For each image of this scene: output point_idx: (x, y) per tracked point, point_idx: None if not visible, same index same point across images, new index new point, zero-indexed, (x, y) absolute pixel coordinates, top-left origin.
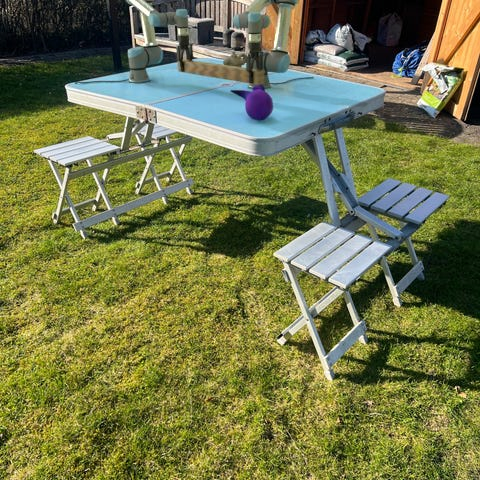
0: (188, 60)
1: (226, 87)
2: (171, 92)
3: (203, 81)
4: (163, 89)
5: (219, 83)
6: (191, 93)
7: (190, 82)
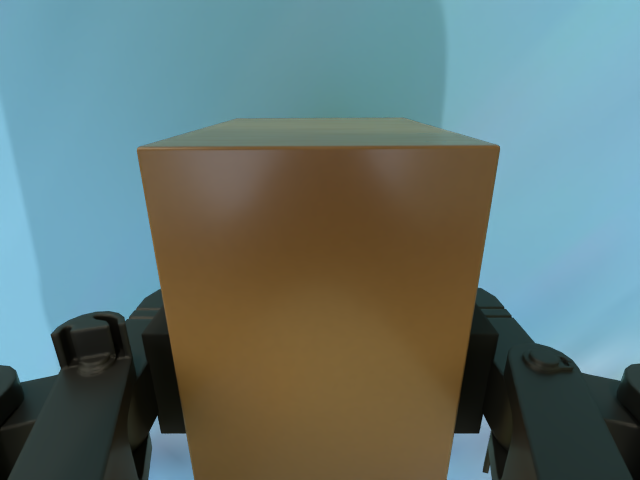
0: (364, 474)
1: (485, 474)
2: (31, 286)
3: (634, 139)
4: (20, 104)
5: (604, 343)
6: (153, 428)
7: (508, 46)
